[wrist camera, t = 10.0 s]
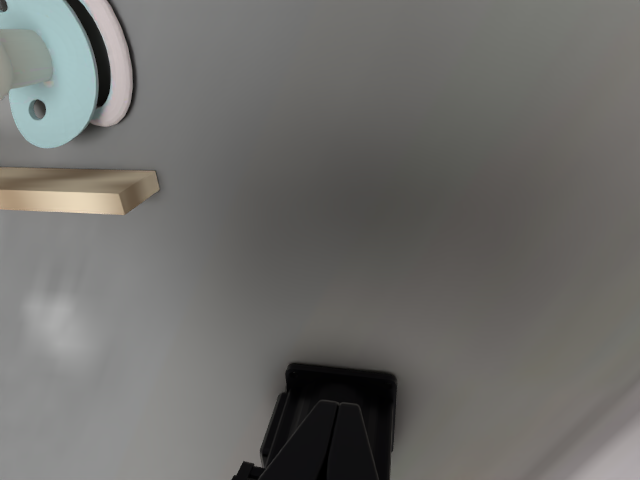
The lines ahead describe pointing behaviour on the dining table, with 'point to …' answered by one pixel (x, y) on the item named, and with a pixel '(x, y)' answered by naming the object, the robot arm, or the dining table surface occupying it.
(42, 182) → the box
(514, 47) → the dining table surface
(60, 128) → the pacifier
